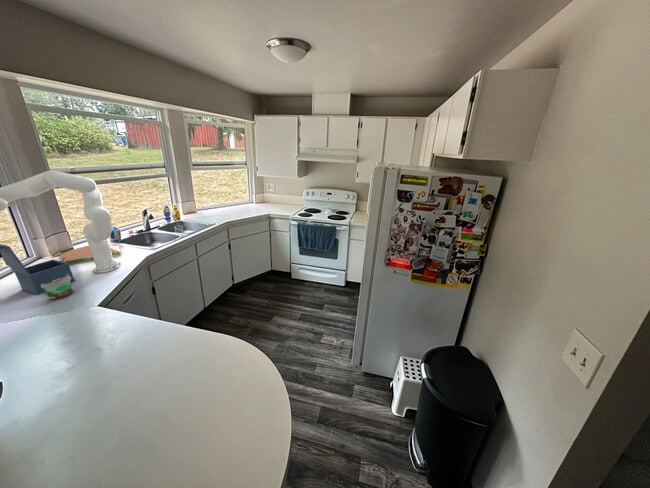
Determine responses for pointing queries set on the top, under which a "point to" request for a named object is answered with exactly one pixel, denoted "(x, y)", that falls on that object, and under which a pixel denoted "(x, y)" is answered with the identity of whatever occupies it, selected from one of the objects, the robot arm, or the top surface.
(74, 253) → the tan flat block
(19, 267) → the freezer lid
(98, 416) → the top surface
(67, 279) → the food container
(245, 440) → the top surface
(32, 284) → the blue bin
